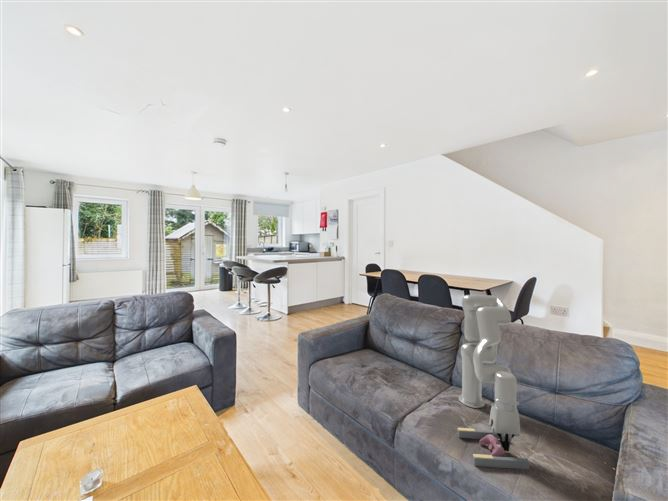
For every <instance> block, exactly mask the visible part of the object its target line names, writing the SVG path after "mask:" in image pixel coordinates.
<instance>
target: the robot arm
mask: <svg viewBox="0 0 668 501" xmlns="http://www.w3.org/2000/svg"><path fill="white" fill-rule="evenodd" d="M461 306H462V307H461V308H462V310H463V314H464V322H463V323H464V324H463V325H464V327H463V328H464V330H463V332H464V335H463V336H464V338H465V340H467V343H463V344H461V346H460V355H461V364H462V365H461V369H462V370H461V371H462V372H461V373H462V374H461V375H462V376H461V394H459V395H458V400H459V402H461V404H463V405H464V406H467V407H470V408H474V409H481V408H485V405H486V404H485V400H484V399H483V398H482V397H483V396H482V388H483V387H482V386H483V383H488V384H494V403H492V404H491V408H490V412H489V413H490V414H489V420H488V421H489V424H488V425H489V427H491V428H490V431H491V433H492V434H493V435H497V436H499V437H500V440H499V441H500V443H501V445H502V447H503V448H504V452H510V445H511V444H510V442H512V439H513V438H514V437H518V436H520V433H521V423H520V422H521V420H520V415H519V411H518V407H517V406H520V401H517V377H516V376H515V375H514V374H513V373H512V370H511V369H510V368H509V367H508V366H506V365H503V364H494V363H496V361H497V359H498V344H499V343H501V342H502V337H501V330H500V327H499V326H500V325H501V326H508V325H510V324H511V322H512V315H511V313H510V310H509V308H508V307H507V305H506V304H505V303H504V302H503V300H501V299H500V297H499V296H496V295H489V294H488V295H487V294H465V295H463V297H462V299H461ZM504 434H505V435H504Z"/></svg>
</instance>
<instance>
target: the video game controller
mask: <svg viewBox="0 0 668 501" xmlns="http://www.w3.org/2000/svg"><path fill="white" fill-rule="evenodd" d="M478 443H479V445H480V446H486V445H487V447H488V450H490V451H491V453H490V455H492V456H496V457H504V455H505V451H504V448H503V447H502V445H501V443H500V440H498V439H497V438H496V437H495V436H493V435H490V434H489V435H486V436H485V437H484V438H482V439H479V442H478Z"/></svg>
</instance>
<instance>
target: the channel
mask: <svg viewBox="0 0 668 501" xmlns="http://www.w3.org/2000/svg"><path fill="white" fill-rule="evenodd" d="M489 434H490V435H493V434H492V433H491V430H487V429H475V428H469V427H457V437H458V438H459V439H472V440H473V439H474V440H481V439H482V438H484V437H485V436H486V435H489ZM504 435H505V434H504ZM493 436H495V437H496V438H497V439H500V437H499V436H497V435H493ZM472 464H473V465H474V466H475V467H488V468H489V467H490V468H502V469H505V468H506V469H515V470H517V469H518V470H528V469H529V470H530V460H529V459H528V458H525V457H522V458H521V457H510V456H501V457H496V456H492V455H491V454H481V453H478V454H477V453H473V454H472Z"/></svg>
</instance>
